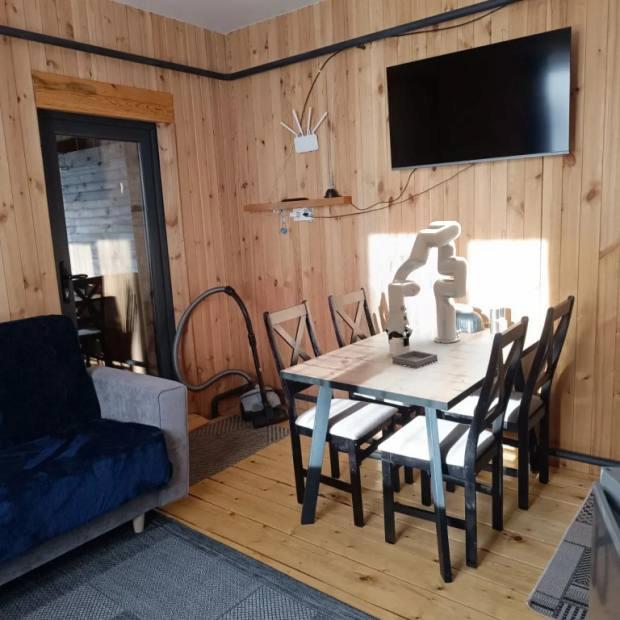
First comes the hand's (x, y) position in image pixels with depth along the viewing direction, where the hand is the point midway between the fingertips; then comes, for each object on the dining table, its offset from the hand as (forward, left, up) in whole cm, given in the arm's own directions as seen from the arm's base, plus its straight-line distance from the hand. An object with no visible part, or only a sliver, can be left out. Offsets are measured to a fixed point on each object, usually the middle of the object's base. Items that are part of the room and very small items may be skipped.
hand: (398, 344), depth 276 cm
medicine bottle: (0, 0, -5) cm, 5 cm away
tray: (+6, +15, -5) cm, 17 cm away
